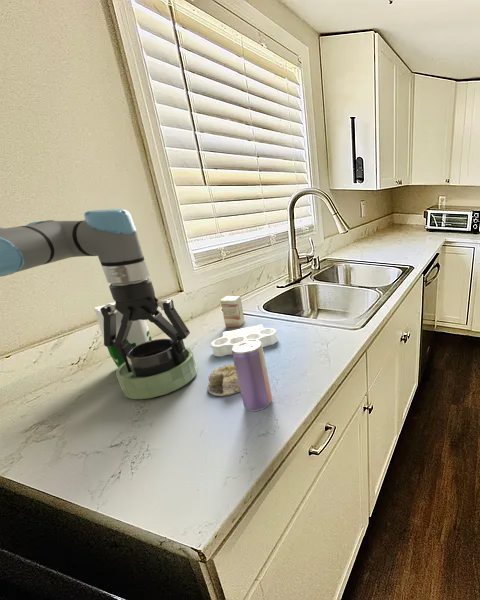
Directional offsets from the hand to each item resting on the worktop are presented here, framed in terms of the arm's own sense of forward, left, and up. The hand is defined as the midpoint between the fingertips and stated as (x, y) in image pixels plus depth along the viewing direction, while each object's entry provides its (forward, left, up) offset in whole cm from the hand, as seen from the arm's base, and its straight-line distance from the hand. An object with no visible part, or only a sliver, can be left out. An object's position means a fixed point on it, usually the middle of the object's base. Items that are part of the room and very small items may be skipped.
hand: (157, 366), depth 81 cm
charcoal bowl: (0, 0, 0) cm, 0 cm away
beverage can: (+29, -5, -5) cm, 30 cm away
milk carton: (-13, +6, -5) cm, 15 cm away
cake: (+18, +1, -5) cm, 19 cm away
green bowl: (0, 0, -5) cm, 5 cm away
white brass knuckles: (+10, +21, -5) cm, 24 cm away
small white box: (-2, +34, -5) cm, 34 cm away
